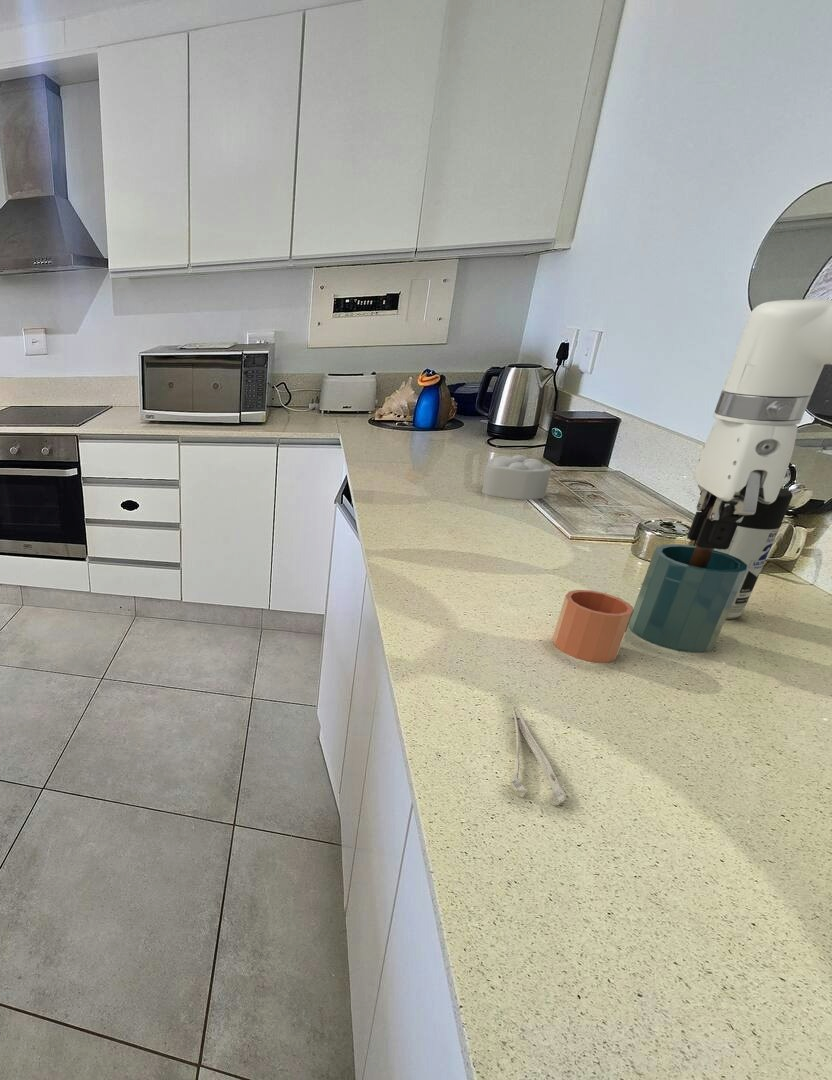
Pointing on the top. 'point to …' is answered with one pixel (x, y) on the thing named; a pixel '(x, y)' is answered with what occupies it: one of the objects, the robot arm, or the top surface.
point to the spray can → (755, 544)
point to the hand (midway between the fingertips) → (707, 543)
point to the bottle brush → (701, 553)
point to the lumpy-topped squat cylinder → (516, 478)
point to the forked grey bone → (519, 789)
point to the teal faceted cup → (685, 599)
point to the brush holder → (592, 625)
